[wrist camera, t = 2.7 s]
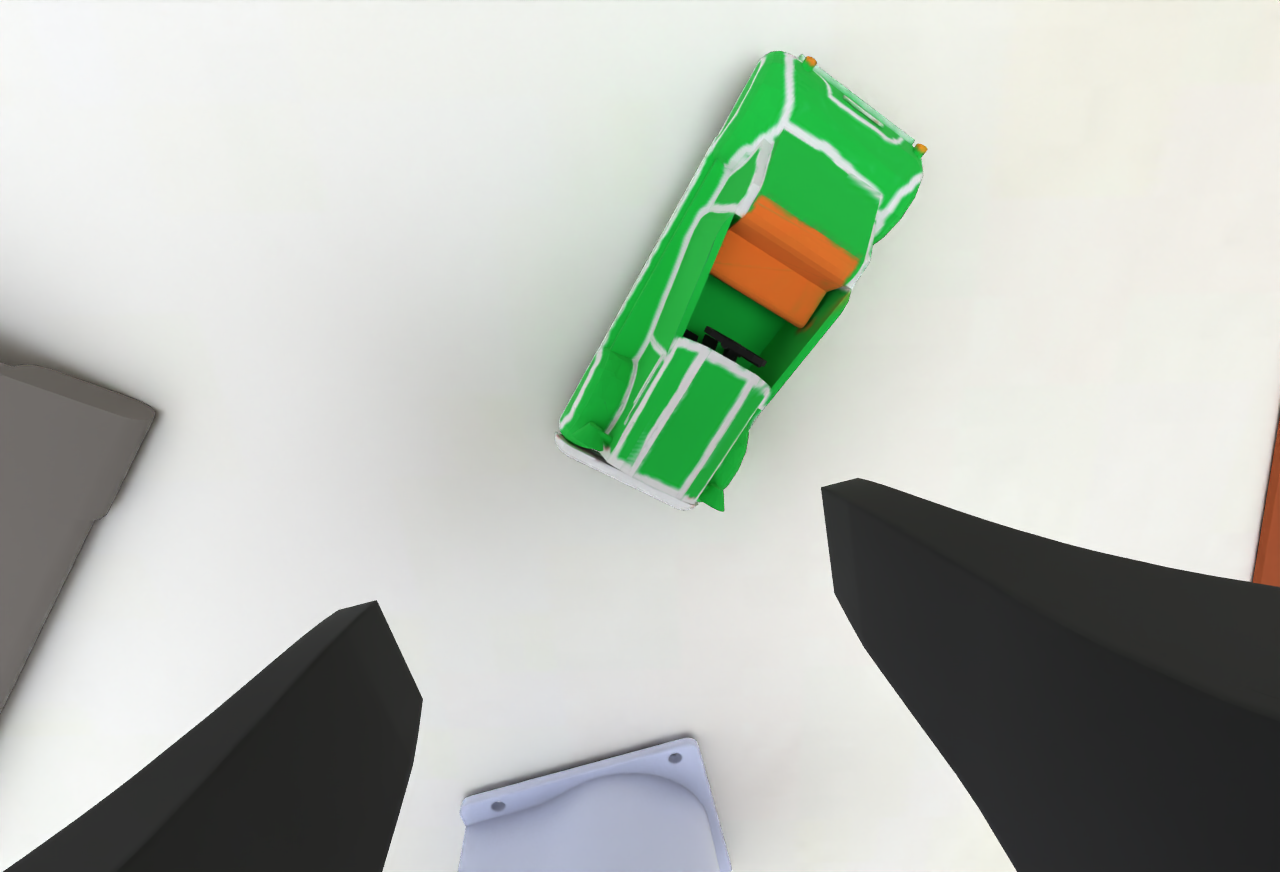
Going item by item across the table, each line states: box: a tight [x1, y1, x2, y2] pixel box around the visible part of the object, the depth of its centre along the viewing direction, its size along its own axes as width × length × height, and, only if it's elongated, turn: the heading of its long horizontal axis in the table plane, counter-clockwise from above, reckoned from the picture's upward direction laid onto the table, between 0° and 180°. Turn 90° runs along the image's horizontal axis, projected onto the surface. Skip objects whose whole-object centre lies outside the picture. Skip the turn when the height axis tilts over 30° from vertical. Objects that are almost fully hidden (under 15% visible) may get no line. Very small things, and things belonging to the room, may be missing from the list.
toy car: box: [555, 51, 927, 512], centre depth 15 cm, size 12×5×4 cm, turn 150°
